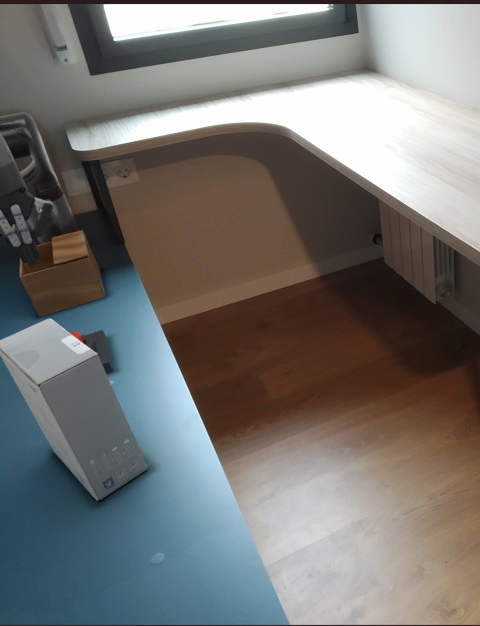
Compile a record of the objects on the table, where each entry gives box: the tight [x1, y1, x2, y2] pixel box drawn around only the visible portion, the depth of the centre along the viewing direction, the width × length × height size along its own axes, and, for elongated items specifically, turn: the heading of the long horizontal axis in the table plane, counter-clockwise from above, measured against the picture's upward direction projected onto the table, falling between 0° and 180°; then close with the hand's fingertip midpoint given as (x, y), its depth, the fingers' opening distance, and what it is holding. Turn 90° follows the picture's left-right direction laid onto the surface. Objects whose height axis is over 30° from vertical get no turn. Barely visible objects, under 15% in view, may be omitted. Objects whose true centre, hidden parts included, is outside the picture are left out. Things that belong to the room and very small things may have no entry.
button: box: [69, 331, 85, 344], centre depth 107 cm, size 4×4×2 cm
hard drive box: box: [0, 318, 149, 501], centre depth 83 cm, size 16×8×20 cm, turn 48°
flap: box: [52, 230, 88, 265], centre depth 129 cm, size 15×6×1 cm, turn 28°
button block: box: [80, 329, 114, 375], centre depth 109 cm, size 12×10×4 cm
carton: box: [19, 232, 107, 318], centre depth 131 cm, size 15×13×9 cm
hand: (33, 262), depth 103 cm, fingers closed
